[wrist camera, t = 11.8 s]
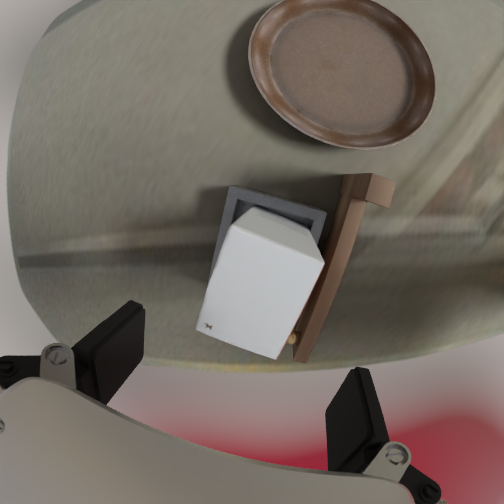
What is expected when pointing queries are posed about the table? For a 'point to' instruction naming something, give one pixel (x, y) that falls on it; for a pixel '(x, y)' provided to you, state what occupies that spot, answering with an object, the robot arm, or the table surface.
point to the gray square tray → (245, 198)
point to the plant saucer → (343, 71)
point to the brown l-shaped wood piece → (338, 254)
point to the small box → (260, 282)
